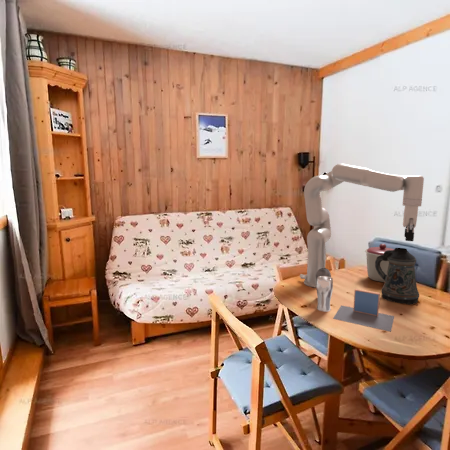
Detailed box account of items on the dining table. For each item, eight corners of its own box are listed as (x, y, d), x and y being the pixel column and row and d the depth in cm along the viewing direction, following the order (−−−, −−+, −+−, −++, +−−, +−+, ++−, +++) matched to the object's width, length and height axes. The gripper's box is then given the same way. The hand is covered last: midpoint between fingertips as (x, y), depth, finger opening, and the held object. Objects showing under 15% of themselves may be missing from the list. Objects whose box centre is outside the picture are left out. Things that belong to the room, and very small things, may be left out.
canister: (404, 284, 178) (407, 247, 174) (371, 284, 178) (374, 247, 174) (388, 274, 195) (391, 240, 192) (358, 274, 196) (360, 240, 192)
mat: (332, 319, 136) (332, 318, 136) (341, 306, 150) (341, 305, 150) (390, 332, 125) (390, 331, 125) (394, 317, 138) (394, 316, 138)
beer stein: (424, 306, 149) (429, 254, 145) (379, 303, 153) (383, 252, 149) (411, 293, 165) (415, 245, 161) (371, 290, 169) (374, 244, 165)
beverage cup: (330, 296, 161) (332, 258, 158) (330, 302, 154) (332, 262, 151) (315, 295, 164) (316, 256, 160) (314, 300, 157) (315, 260, 154)
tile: (353, 311, 143) (354, 289, 142) (354, 309, 144) (355, 288, 143) (377, 316, 138) (379, 294, 136) (378, 314, 139) (380, 292, 138)
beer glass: (313, 307, 149) (314, 275, 147) (327, 306, 150) (329, 275, 147) (319, 313, 142) (320, 281, 140) (334, 312, 143) (335, 280, 140)
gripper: (402, 200, 157) (399, 235, 160) (403, 203, 142) (400, 241, 145) (419, 201, 154) (416, 236, 157) (423, 204, 139) (419, 243, 141)
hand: (408, 238), depth 151 cm, fingers open, 9 cm apart
